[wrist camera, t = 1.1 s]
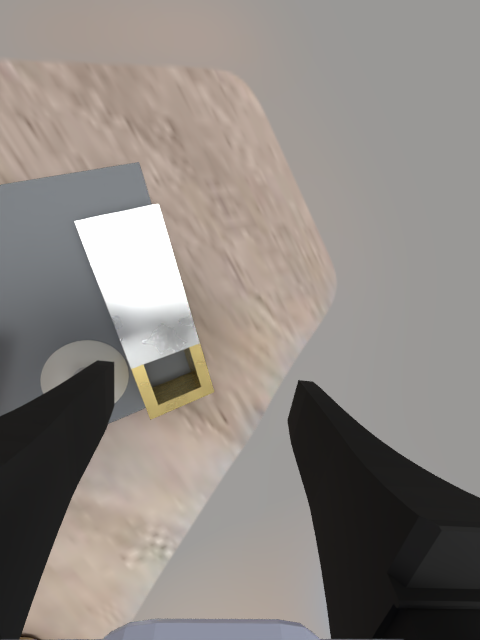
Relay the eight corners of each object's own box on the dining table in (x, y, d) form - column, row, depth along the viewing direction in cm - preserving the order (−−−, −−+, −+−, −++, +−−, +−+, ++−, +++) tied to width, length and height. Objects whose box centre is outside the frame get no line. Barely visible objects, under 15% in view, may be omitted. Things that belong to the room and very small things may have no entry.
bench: (-31, 478, 21) (-53, 516, 18) (-201, 219, 15) (-271, 212, 13) (204, 380, 26) (216, 397, 23) (138, 163, 21) (143, 150, 18)
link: (202, 377, 26) (214, 392, 23) (145, 400, 24) (150, 419, 21) (151, 209, 21) (158, 203, 19) (78, 225, 20) (74, 221, 17)
